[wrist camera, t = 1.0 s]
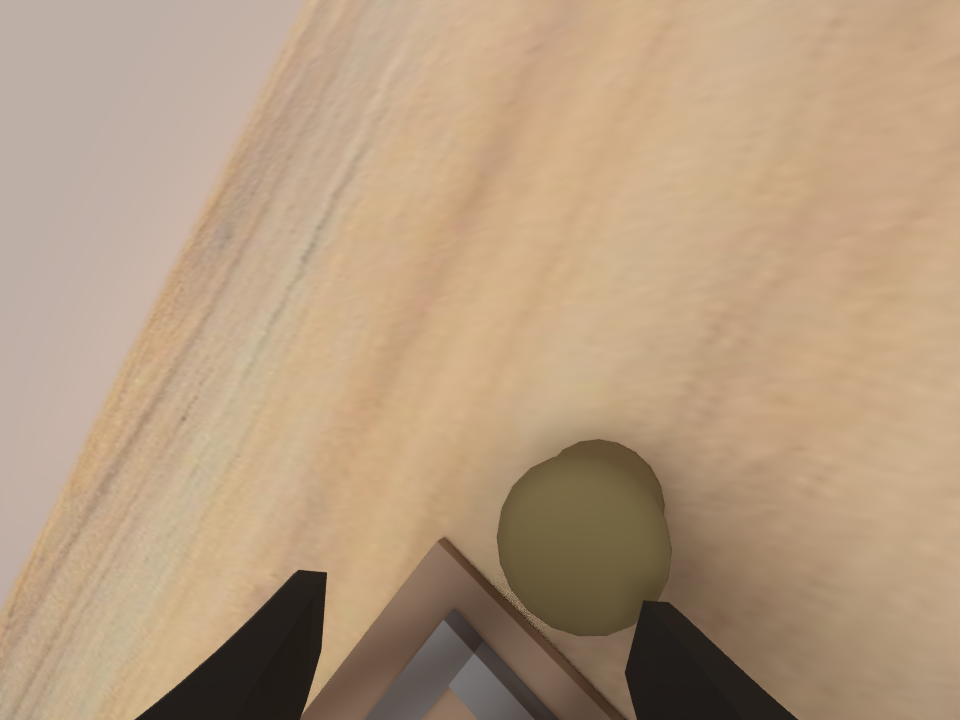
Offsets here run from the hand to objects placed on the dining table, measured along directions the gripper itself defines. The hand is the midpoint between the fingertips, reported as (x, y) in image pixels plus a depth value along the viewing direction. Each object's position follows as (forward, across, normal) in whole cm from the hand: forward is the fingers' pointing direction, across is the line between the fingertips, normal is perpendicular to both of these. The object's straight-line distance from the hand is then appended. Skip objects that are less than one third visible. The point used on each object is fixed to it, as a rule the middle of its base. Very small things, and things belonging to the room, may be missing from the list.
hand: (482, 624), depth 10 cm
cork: (+12, -7, +3) cm, 14 cm away
